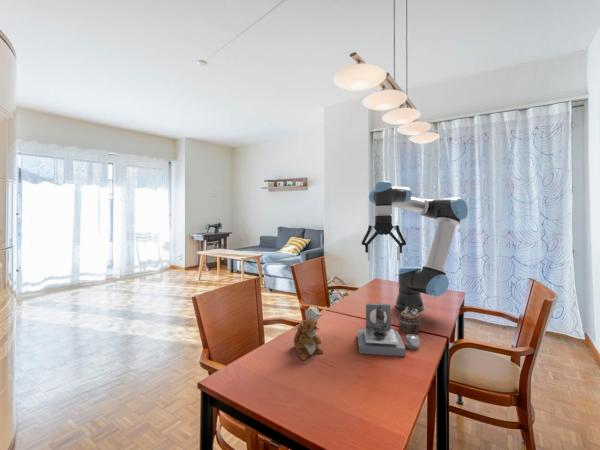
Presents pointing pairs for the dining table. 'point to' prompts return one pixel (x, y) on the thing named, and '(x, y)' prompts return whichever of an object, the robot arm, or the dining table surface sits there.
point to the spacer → (412, 341)
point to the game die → (312, 313)
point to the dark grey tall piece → (380, 323)
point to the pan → (382, 340)
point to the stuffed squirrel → (307, 339)
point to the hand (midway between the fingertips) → (383, 259)
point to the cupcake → (410, 320)
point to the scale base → (370, 320)
